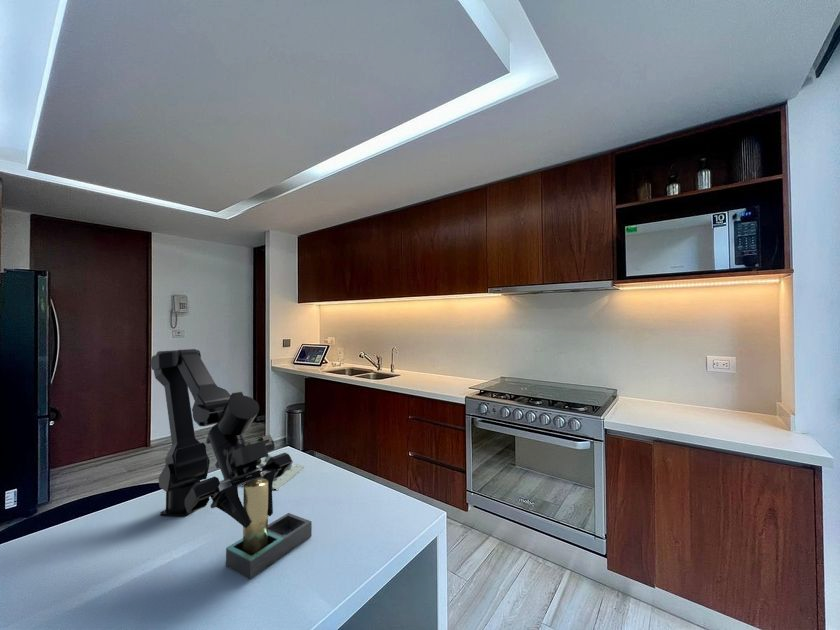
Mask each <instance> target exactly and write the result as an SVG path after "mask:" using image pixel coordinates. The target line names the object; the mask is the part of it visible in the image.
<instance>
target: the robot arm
mask: <svg viewBox="0 0 840 630" xmlns="http://www.w3.org/2000/svg"><path fill="white" fill-rule="evenodd" d="M150 368H151V369H152V371H153V373H154V378H155V379H156V381H157V382H159V383H160V384H161V385H162V386H163V387H164V394H165V401H166V409H167V415H168V423H169V432H170V438H171V447H169V448H170V449H169V450H168V452H167V455H166V456H165V459H164V460H165V465H164V468H163V469H162V470H161V473H160V474H159V476H158V485H159V486H158V487H159V488H160V489H161V490H163V491H164V492H165V509H163V510H162V511H161V512H160V513H159V514H160V516H163V517H164V516H170V517H186V516H188V515H189V514H191V513H193V512H195V511H198V510H201V509H204V508H205V507H206V506H207V505H208V503H209V502H210V499H211V500H212V502H211V504H210V508H211V509H215V508H216V509H218V510H220V511H222V512H223V513H225V514H227V515H229V516H230V517H231V518H232V519H234V520H235V521H236V522H237V523H239V524H240V525H241V526H242V527H243V526H244V527H245V528H247V527H248V526H249V520H248V517H247V514H246V512H245V510H244V508H243V503H242V501H241V498H240V497H239V490H238V489H239V488H238V487H239V486H242V485H244V484H245V483H247V482H248V481H251V480H254V479H267V480H268V517H271V516H272V515H273V514H274V507H273V506H274V505H273V489H272V484H273V479H276V478H278V477H280V476H282V475H283V474H284V473H285V471H286V470H287V469H288V468H289V466H290V465H291V464H292V465H293V463H294V462H293V460H292V457H291V455H290V454H289V453H286V452H283V453H280V454H276V455H273V456H271V457H270V459H269V460H268V461H267V463H266V464H265V466H262V467H259V468H257V467H256V466H257V465H259V464H260V463H261V460H262V459H263V458H265V457H268V455H269V453H270V452H272V451H274V450H275V447H276V446H275V442H274V439H273V437H272V435H271V434H267V435H263V436H262V437H260V438H258V439H257V442H253V443H251V442H250V441H246V439H245V437H244V435H243V434H245V433H246V432H247V431H248V429H249V428H250V426H251V424H252V423H253V422H254V420H255V418H256V417H257V415H258V414H259V411H260V404H259V403H258V401H256V400H255V399H254V398H253V397H250V396H248V395H244V393H243V391H236V392H231V394H230V392H229V391H228V390H227V389H225V388H222V387H220V386H218V385H217V384H216V383H215V380H214V379H213V377H212V375H211V373H210V372H209V370H208V368H207V367H206V365H205V363H204V361H203V360H202V355H201V352H200V350H199V349H195V348H187V349H177V350H158V351H157V352H156V354H155V355H152V357H151V359H150ZM189 391H190V393H189ZM190 394H191V395H192V398H193V400H194V403H193V405H192V406H191V399H190ZM194 422H195V423H196V424H197V425H198V426H199V427H200V428H201V427H207V426H212V425H213V426H212V427H211V428H210V430H209V431H208V433H207V438H206V442H205V443H206V444H207V445H209V444H210V445H211V447H212V451H213V453H214V456H215V458H216V462H215V464H214V465H215V468H216V469H220V471H221V475H222V477H223V479H221V480H220V479H219V477H217V476H212V477H209V478H207V477H208V473H209V468H210V463H211V462H210V461H211V460H210V458H209V455H208V453H207V445H206V444H205V443H204V442H200V441H199V440H198V439H197V438H196V433H195V427H194Z"/></svg>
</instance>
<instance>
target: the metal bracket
mask: <svg viewBox="0 0 840 630" xmlns="http://www.w3.org/2000/svg"><path fill="white" fill-rule="evenodd" d="M270 457H272V456H271V454H268V457H264V458H261V463H260V464H259V465H257V466H256V467H257V468H259V467H262V466H265V464H266V463H267V461H268V460H269V459H270ZM292 465H293V463H292V464H291V465H290V466H289V468H288V469H287V470H286V471H285V473H284V474H283V475H282V476H280V477H278V478H276V479H273V484H272V490H274V489H279V488H280V487H281V486H283V485H284V484H285V483H286V482H287V483H288V482H290V481H291V480H292V479H294V478H295V476H297V475H298V474H299V473H300V472H299V471H301V470H302V469H304V468H306V467H305V466H303V465H301V464H298V463H296V464H295V465H293V466H292ZM304 470H305V469H304ZM302 471H303V470H302ZM302 471H301V472H302ZM298 472H299V473H298ZM297 473H298V474H297ZM296 474H297V475H296ZM291 478H292V479H291ZM290 479H291V480H290ZM289 480H290V481H289ZM287 483H286V484H287ZM286 484H285V485H286ZM283 487H284V486H283Z"/></svg>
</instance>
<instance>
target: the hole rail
mask: <svg viewBox="0 0 840 630" xmlns="http://www.w3.org/2000/svg"><path fill="white" fill-rule="evenodd" d="M312 527H313V526H312V521H311V520H309V519H306V518H303V517H300V516H299V515H295V514H293V513H290V512H288V513H287V512H286V514H284V515H282V516H281V517H279V518H277V519H276V520H273V521H272V522H270V523H268V546H266V547H265V548H263V549H262V550H260V551H259V552H257V553H256V554H254V555H252V556H251V555H249V554H247V553H245V552H243V537H242V538H241V539H238V540H237V541H235V542H233V543H232V544H230V545H228V546H227V547H226V548H225V567H226V568H229V569H230V570H232V571H234V572H236V573H238V574H239V575H241V576H243V577H245V578H247V579H249V580H252V579H254V578H255V577H256V576H257V575H259V574H261V573H262V572H263V571H264V570H266V569H267V568H269V567H270V566H272V565H273V564H274V563H275V562H277V561H279V560H280V559H282V558H283V557H284V556H286V555H287V554H288V553H290V552H291V551H293V550H294V549H295V548H297V547H298V546H299V545H301V544H303V543H304V542H305V541H307V540H308V539H310V538H311V537H312ZM288 531H290V532H289V533H288V534H285V535H282V534H284V533H285V532H288Z"/></svg>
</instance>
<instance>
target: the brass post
mask: <svg viewBox="0 0 840 630" xmlns="http://www.w3.org/2000/svg"><path fill="white" fill-rule="evenodd" d="M242 497H243V499H242V502H243V503H242V505H243V508H244V510H245V512H246V514H247V517H248V520H249V526H248V527H247V528H245V527H244V526H242V538H243V552H245V553H247V554H249V555H251V556H252V555H254V554H256V553H257V552H259V551H260V550H262V549H263V548H265V547H266V546H268V525H269V516H268V480H267V479H254V480H251V481H248V482H247V483H245V484H243V496H242Z"/></svg>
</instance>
